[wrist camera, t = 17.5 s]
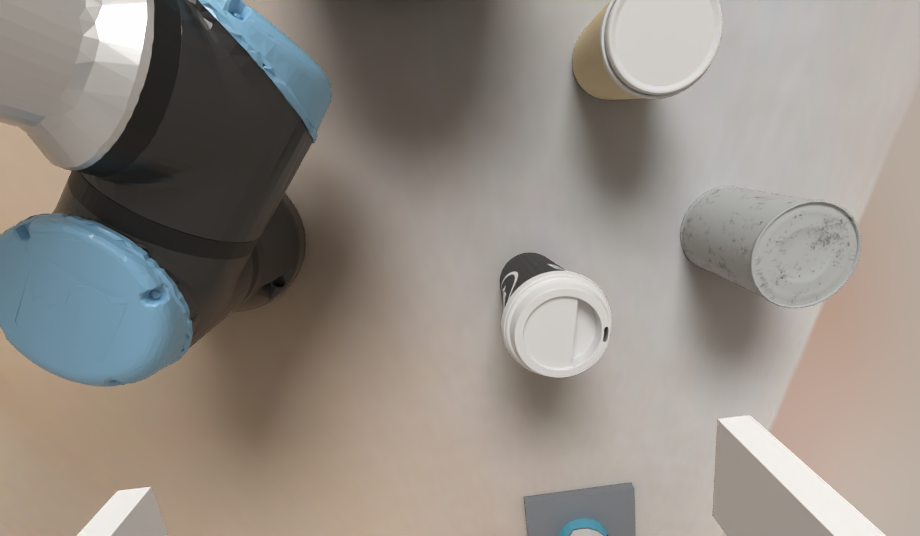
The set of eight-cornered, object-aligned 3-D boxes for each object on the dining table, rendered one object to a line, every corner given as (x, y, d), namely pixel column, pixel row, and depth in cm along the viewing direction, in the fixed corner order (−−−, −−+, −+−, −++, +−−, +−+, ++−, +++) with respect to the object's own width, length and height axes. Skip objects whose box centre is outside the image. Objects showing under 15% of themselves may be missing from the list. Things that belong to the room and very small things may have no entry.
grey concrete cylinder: (762, 265, 53) (855, 301, 41) (679, 275, 53) (748, 314, 41) (767, 181, 51) (867, 193, 39) (680, 191, 50) (754, 207, 39)
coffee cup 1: (547, 332, 54) (586, 402, 40) (472, 301, 53) (485, 362, 38) (585, 258, 52) (641, 304, 38) (508, 225, 51) (536, 259, 36)
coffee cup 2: (668, 80, 47) (743, 61, 36) (585, 124, 48) (631, 119, 37) (635, -12, 45) (704, -64, 33) (548, 36, 46) (585, 0, 34)
